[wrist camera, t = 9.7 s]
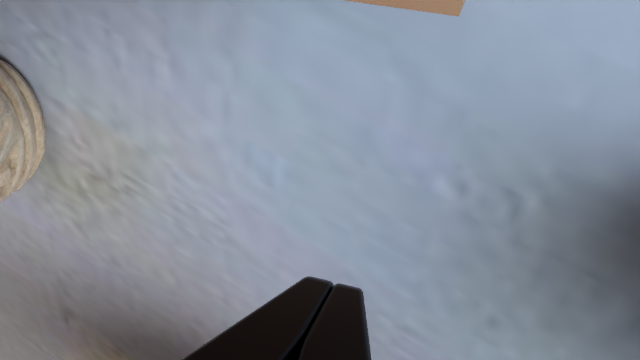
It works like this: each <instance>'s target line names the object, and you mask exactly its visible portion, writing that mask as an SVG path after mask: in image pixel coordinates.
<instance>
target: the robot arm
mask: <svg viewBox="0 0 640 360" xmlns="http://www.w3.org/2000/svg"><path fill="white" fill-rule="evenodd" d="M182 360H371V352H370V344H369V336H368V328H367V320H366V312H365V304H364V296H363V292H362V290H361V289H360V288H356V287H352V286H348V285H344V284H339V283H338V284H336V285H333V283H332V282H331V281H327V280H323V279H319V278H315V277H305V278H303V279H302V280H300V281H299V282H297V283H296V284H294V285H293V286H291V287H290V288H288V289H287V290H285V291H284V292H282V293H281V294H279V295H278V296H276V297H275V298H273V299H272V300H270V301H269V302H267V303H266V304H264V305H263V306H261V307H260V308H258V309H257V310H255V311H254V312H252V313H251V314H249V315H248V316H246V317H245V318H243V319H242V320H240V321H239V322H237V323H236V324H234V325H233V326H232V327H230V328H229V329H227V330H226V331H224V332H223V333H221V334H220V335H218V336H217V337H215V338H214V339H212V340H211V341H209V342H208V343H206V344H205V345H203V346H202V347H200V348H199V349H197V350H196V351H194V352H193V353H191V354H190V355H188V356H187V357H185V358H184V359H182Z"/></svg>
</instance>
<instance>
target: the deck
mask: <svg viewBox="0 0 640 360" xmlns="http://www.w3.org/2000/svg"><path fill="white" fill-rule="evenodd" d="M347 1H354V2H361V3H368V4H375V5H382V6H389V7H396V8H403V9H410V10H418V11H425V12H432V13H439V14H446V15H453V16H459V15H460V12H461V10H462V7H463V5H464V2H465V0H347Z"/></svg>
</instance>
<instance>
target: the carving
mask: <svg viewBox="0 0 640 360" xmlns="http://www.w3.org/2000/svg"><path fill="white" fill-rule="evenodd" d="M45 148H46V129H45V124H44V119H43V115H42V111H41V108H40V106H39V103H38V101H37V99H36V97H35V94H34V92H33V90H32V89H31V87H30V86H29V85H28V83H27V82H26V81H25V79H24V78H23V77H22V76H21V75H20V74H19V73H18V72H17V71H16V70H15V69H14V68H13V67H12V66H11V65H9V64H8V63H6V62H4V61H3V60H0V201H2V200H4V199H6V198H7V197H8V196H9V195H11V193H12V192H14V191H16V190H18V189H20V188H21V187H22V186H23V185H24V183H25V182H26V181H27V180H28V179H29V178H30V177H31V176H32V175H33V174H34V172H35V171H36V169H37V168H38V166H39V164H40V162H41V160H42V158H43V156H44V153H45Z"/></svg>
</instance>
